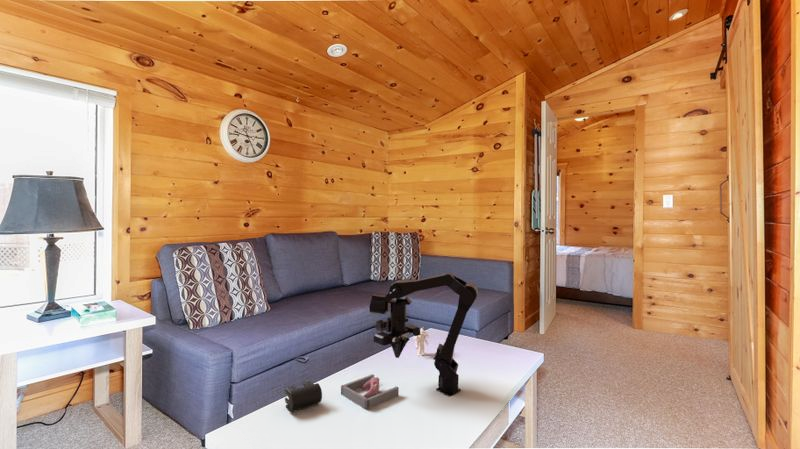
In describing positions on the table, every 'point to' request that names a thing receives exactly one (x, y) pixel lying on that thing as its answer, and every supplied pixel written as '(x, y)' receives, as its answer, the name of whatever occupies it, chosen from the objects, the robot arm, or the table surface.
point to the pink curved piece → (371, 387)
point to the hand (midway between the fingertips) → (397, 357)
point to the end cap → (303, 396)
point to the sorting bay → (365, 403)
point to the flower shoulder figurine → (421, 342)
